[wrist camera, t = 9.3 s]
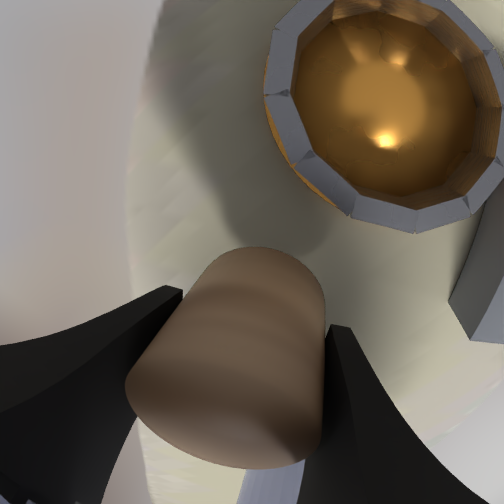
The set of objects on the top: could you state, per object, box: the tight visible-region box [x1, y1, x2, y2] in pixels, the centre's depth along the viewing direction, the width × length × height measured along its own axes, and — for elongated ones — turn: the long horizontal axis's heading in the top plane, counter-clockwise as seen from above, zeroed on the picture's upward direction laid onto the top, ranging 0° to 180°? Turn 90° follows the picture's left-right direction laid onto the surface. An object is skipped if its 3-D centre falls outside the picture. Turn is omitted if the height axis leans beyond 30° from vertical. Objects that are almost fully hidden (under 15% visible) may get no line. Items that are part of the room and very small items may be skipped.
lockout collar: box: [263, 0, 504, 234], centre depth 8 cm, size 10×10×2 cm
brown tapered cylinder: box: [125, 247, 325, 470], centre depth 8 cm, size 4×4×5 cm
